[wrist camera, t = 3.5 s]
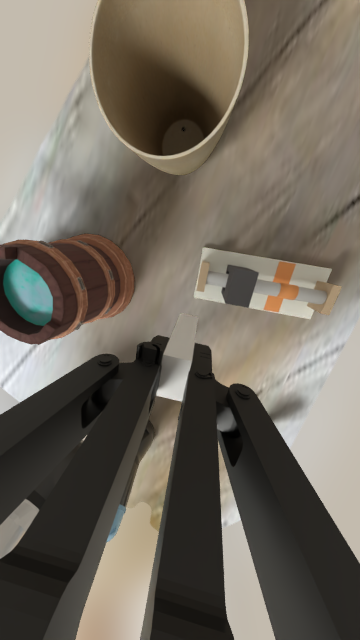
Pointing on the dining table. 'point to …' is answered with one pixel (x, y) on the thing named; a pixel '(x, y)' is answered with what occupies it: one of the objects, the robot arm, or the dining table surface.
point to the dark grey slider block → (239, 285)
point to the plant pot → (168, 75)
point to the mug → (61, 285)
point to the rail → (264, 274)
